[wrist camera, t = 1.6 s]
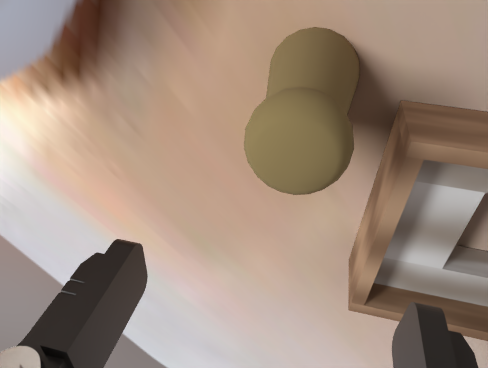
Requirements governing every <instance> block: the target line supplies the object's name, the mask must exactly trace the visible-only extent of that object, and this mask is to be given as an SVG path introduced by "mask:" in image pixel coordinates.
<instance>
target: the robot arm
mask: <svg viewBox="0 0 488 368" xmlns="http://www.w3.org/2000/svg"><path fill="white" fill-rule="evenodd" d="M146 284H147V269H146V264H145V258H144V252H143V247H142V245H141V244H140V243H135V242H130V241H125V240H121V239H117V240H115V241H114V242H113V243H112V244H111V245H110V247H109V248H108V250H107V251H106V252H105V254H102V253H95V254H94V255H92V256H91V257H90V258H88V259H87V260H86V261H84V262H83V263H81V264H80V266H79V267H78V268H77V270H76V271H75V272H74V274H73V275H72V276H71V278H70V281H68V282H67V283H66V284H65V286H64V287H63V288H62V290H61V293H59V294H58V295H57V296H56V297H55V299H54V300H53V301H52V303H51V304H50V305H49V307H48V308H47V309H46V311H45V312H44V313H43V315H42V316H41V317H40V319H39V320H38V321H37V322H36V324H35V325H34V327H33V328H32V329H31V331H30V332H29V333H28V334H27V336H26V337H25V338H24V339H23V341H21V342H20V343H19V344H18V345H17V346H16V347H12V348H8V349H6V350H4V351H2V352H0V368H103V367H104V365H105V364H106V362H107V360H108V358H109V356H110V354H111V353H112V351H113V349H114V347H115V345H116V343H117V341H118V340H119V338H120V336H121V334H122V332H123V330H124V328H125V327H126V325H127V323H128V321H129V319H130V317H131V315H132V314H133V312H134V310H135V308H136V306H137V304H138V302H139V301H140V299H141V297H142V295H143V293H144V291H145V288H146ZM392 357H393V367H394V368H478V365H477V362H476V358H475V355H474V352H473V351H472V349H471V348H470V346H469V345H468V343H467V342H466V340H465V339H464V337H463V336H462V334H461V333H458V332H454V331H449V330H448V327H447V322H446V318H445V314H444V312H443V310H442V309H441V308H439V307H434V306H430V305H425V304H420V303H415V302H411V303H410V304H409V305H408V307H407V309H406V311H405V313H404V315H403V317H402V319H401V321H400V323H399V324H398V326H397V328H396V330H395V333H394V336H393V342H392Z"/></svg>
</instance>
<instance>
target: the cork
mask: <svg viewBox="0 0 488 368" xmlns="http://www.w3.org/2000/svg"><path fill="white" fill-rule="evenodd" d="M359 76H360V68H359V59H358V57H357V54H356V52H355V50H354V47H353V46H352V45H351V44H350V43H349V42H348V41H347V40H346V39H345V37H344V36H342V35H340V34H338V33H336V32H334V31H332V30H330V29H324V28H317V27H313V28H308V29H302V30H299V31H297V32H295V33H294V34H292V35H290V36H288V37H287V38H286V39H285V40H284V41H283V42H282V43H281V44H280V45H279V46H278V47H277V49H276V51H275V53H274V55H273V57H272V59H271V64H270V71H269V79H268V87H267V95H266V99H265V100H264V101H263V102H262V103H261V104H260V105H259V106H258V107H257V108H256V109H255V110H254V112H253V114H252V116H251V118H250V120H249V122H248V124H247V126H246V129H245V140H244V149H245V153H246V157H247V161H248V163H249V165H250V166H251V168H252V169H253V171H254V172H255V174H256V175H257V177H258V178H260V179H261V180H262V181H263V182H264V183H265V184H267V185H268V186H269V187H271V188H274V189H276V190H278V191H280V192H283V193H288V194H293V195H301V194H311V193H314V192H317V191H320V190H323V189H325V188H326V187H328V186H329V185H331V184H332V183H334V182H335V181H337V180H338V179H339V178H340V176H341V175H342V174H343V172H344V171H345V170H346V169H347V167H348V165H349V163H350V159H351V156H352V153H353V150H354V140H353V127H352V125H351V123H350V120H349V118H348V116H347V114H348V111H349V108H350V105H351V102H352V99H353V96H354V93H355V90H356V87H357V83H358V80H359Z"/></svg>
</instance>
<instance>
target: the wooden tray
mask: <svg viewBox="0 0 488 368" xmlns="http://www.w3.org/2000/svg"><path fill="white" fill-rule="evenodd" d="M485 193H488V112H485V111H477V110H470V109H462V108H455V107H447V106H440V105H432V104H424V103H417V102H409V101H402V100H401V102H400V105H399V108H398V111H397V114H396V117H395V120H394V123H393V126H392V129H391V132H390V135H389V138H388V142H387V145H386V148H385V151H384V154H383V157H382V160H381V163H380V166H379V169H378V172H377V175H376V178H375V181H374V184H373V188H372V191H371V194H370V197H369V200H368V203H367V206H366V209H365V212H364V215H363V218H362V221H361V224H360V227H359V230H358V234H357V237H356V240H355V243H354V246H353V249H352V252H351V255H350V258H349V310H350V311H355V312H359V313H364V314H368V315H373V316H377V317H382V318H386V319H391V320H395V321H401V319H402V317H403V315H404V313H405V311H406V309H407V307H408V305H409V304H410V303H411V302H415V303H420V304H425V305H430V306H434V307H439V308H441V309H442V310H443V312H444V314H445V318H446V322H447V327H448V330H449V331H454V332H458V333H461V334H462V335H463V336H468V337H472V338H477V339H481V340H486V341H488V251H483V250H478V249H472V248H467V247H462V246H456V243H457V242H458V240H459V238H460V236H461V235H462V233H463V231H464V229H465V228H466V226H467V224H468V222H469V221H470V219H471V217H472V215H473V214H474V212H475V210H476V208H477V207H478V205H479V203H480V201H481V199H482V198H483V196H484V194H485Z"/></svg>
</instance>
